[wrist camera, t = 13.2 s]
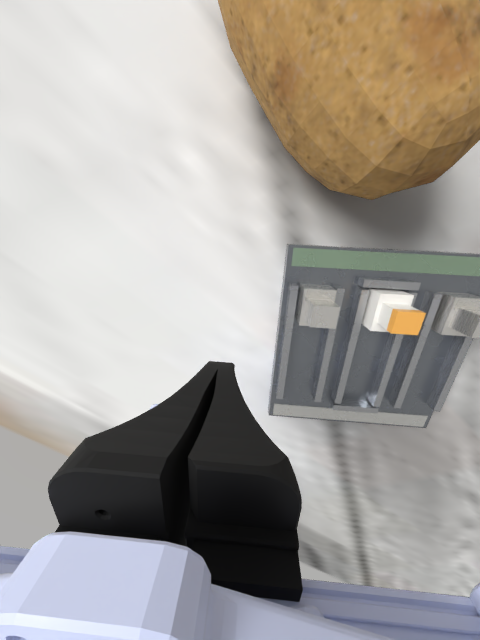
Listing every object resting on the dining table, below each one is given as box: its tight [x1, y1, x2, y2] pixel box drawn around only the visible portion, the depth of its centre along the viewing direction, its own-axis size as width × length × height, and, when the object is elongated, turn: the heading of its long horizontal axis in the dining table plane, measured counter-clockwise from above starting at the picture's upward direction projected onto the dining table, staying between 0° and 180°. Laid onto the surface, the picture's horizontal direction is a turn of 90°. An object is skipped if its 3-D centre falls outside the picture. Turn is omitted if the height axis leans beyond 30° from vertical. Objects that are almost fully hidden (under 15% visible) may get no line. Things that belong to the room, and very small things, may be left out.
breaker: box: [361, 288, 426, 335], centre depth 17 cm, size 3×2×4 cm
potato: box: [218, 0, 480, 200], centre depth 11 cm, size 9×16×9 cm, turn 34°
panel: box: [268, 244, 480, 428], centre depth 19 cm, size 17×16×5 cm
